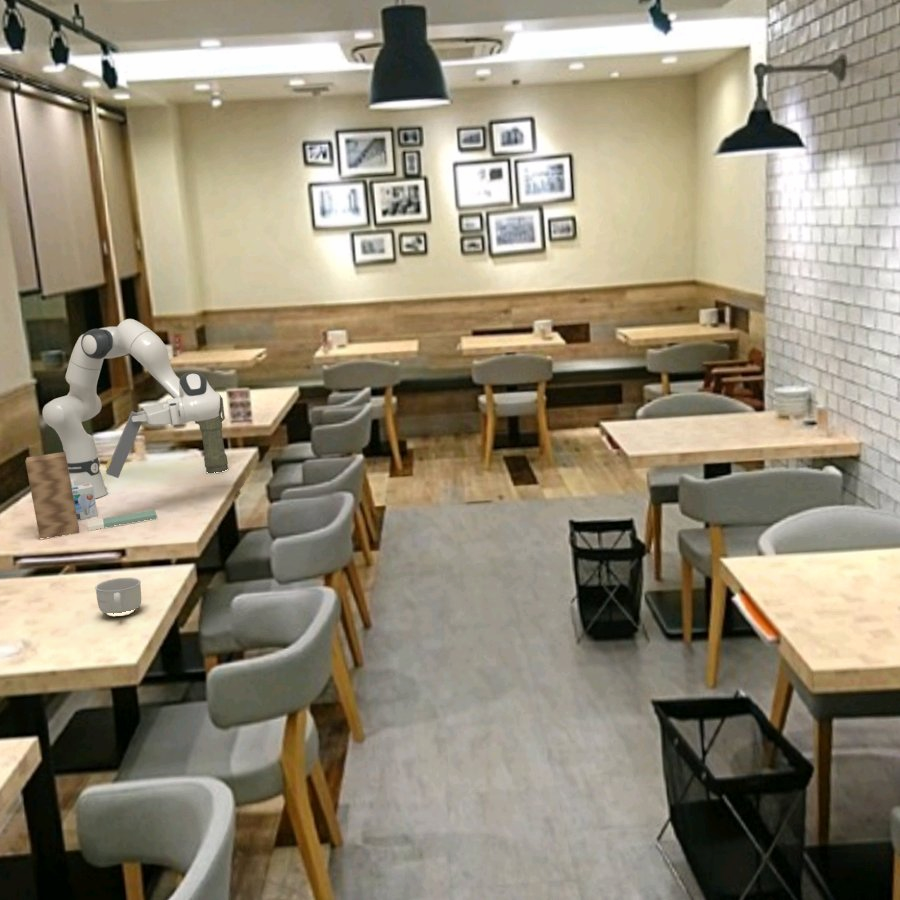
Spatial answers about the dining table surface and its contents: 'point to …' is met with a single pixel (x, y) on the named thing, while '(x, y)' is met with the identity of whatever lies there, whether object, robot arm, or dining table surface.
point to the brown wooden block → (52, 495)
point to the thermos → (213, 442)
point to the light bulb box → (84, 501)
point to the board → (121, 519)
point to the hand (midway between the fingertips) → (131, 417)
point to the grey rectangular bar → (123, 447)
